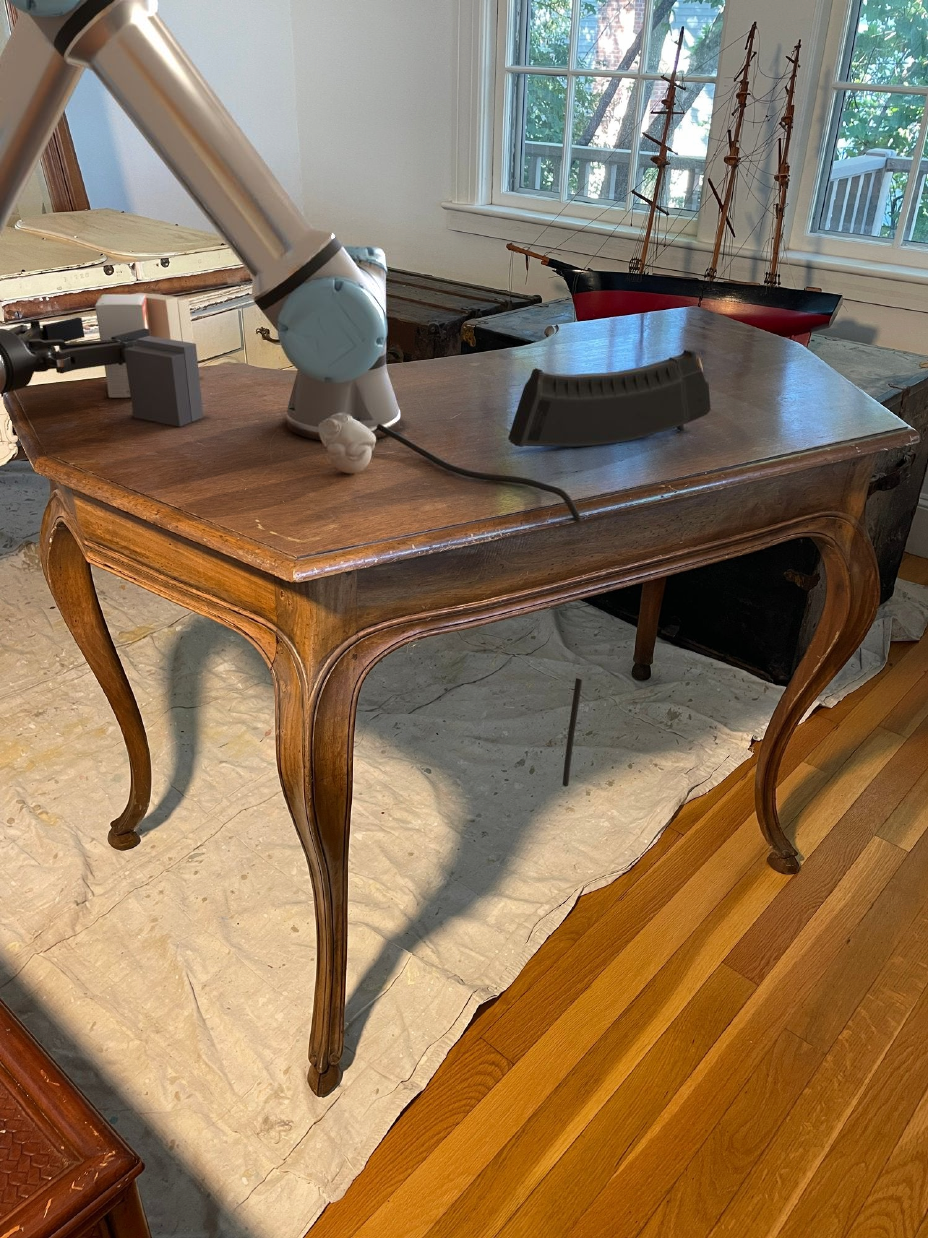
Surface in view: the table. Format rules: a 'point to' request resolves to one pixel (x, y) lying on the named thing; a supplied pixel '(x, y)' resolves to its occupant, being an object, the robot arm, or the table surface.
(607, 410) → the magazine
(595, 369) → the table surface
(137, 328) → the small box
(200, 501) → the table surface
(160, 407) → the grey books
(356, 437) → the plaster face bust
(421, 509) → the table surface
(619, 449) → the table surface
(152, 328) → the beige rectangular block
